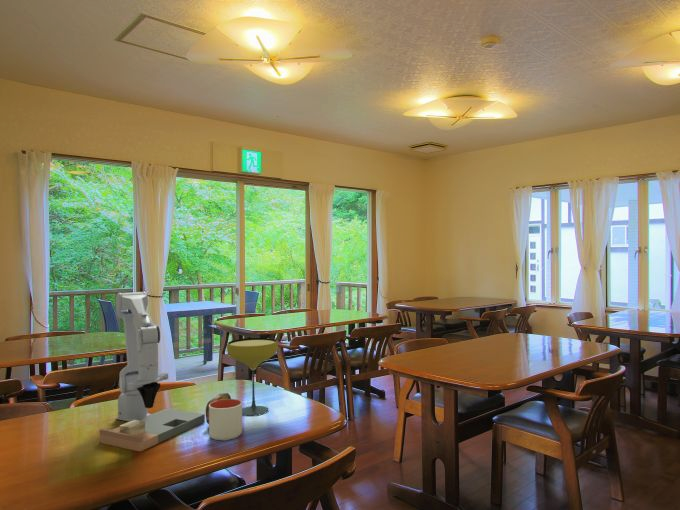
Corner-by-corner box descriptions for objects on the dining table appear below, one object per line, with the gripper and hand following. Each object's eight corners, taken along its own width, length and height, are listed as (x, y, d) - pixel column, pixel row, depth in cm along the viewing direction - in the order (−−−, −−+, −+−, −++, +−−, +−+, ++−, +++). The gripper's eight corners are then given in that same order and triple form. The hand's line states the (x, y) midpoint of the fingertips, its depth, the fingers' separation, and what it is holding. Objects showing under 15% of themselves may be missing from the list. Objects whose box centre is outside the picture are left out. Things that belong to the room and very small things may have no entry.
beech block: (119, 435, 141) (119, 425, 141) (134, 429, 146) (134, 419, 146) (130, 437, 139) (130, 427, 139) (145, 431, 144) (145, 421, 144)
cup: (248, 431, 149) (247, 400, 149) (231, 443, 140) (230, 410, 140) (221, 428, 152) (220, 397, 153) (202, 439, 143) (202, 407, 143)
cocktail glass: (281, 416, 163) (280, 344, 163) (228, 421, 159) (227, 347, 159) (275, 401, 180) (274, 336, 181) (227, 405, 176) (226, 339, 176)
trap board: (99, 442, 142) (99, 429, 142) (167, 415, 167) (167, 403, 167) (140, 451, 135) (140, 437, 135) (204, 421, 159) (204, 409, 159)
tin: (212, 429, 152) (212, 403, 152) (204, 428, 153) (203, 402, 153) (232, 414, 167) (232, 390, 167) (224, 413, 168) (224, 389, 168)
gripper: (138, 370, 141) (139, 416, 140) (175, 360, 154) (175, 402, 154) (122, 368, 144) (122, 413, 143) (159, 359, 157) (159, 399, 157)
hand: (149, 407), depth 149 cm, fingers closed
